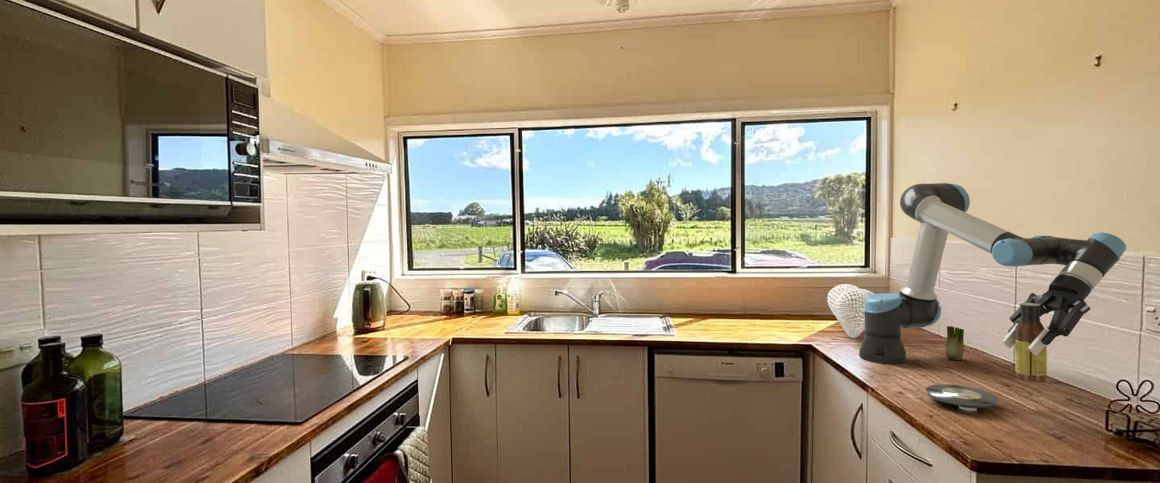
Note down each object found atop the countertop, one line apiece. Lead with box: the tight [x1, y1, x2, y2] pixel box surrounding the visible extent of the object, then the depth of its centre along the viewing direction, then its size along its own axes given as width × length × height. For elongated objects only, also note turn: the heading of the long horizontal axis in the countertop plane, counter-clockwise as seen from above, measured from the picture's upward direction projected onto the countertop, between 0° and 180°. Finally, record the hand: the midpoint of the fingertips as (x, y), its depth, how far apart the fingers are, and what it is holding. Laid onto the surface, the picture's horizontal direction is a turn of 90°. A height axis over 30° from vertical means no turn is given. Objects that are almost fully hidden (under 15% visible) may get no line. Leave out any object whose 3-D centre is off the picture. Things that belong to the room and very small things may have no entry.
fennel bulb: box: [944, 325, 965, 361], centre depth 187 cm, size 6×5×12 cm
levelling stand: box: [926, 383, 999, 415], centre depth 144 cm, size 16×16×3 cm
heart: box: [826, 283, 875, 339], centre depth 221 cm, size 28×16×22 cm, turn 172°
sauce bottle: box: [1014, 302, 1048, 383], centre depth 134 cm, size 6×6×20 cm
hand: (1018, 348), depth 134 cm, fingers closed on sauce bottle, 6 cm apart
